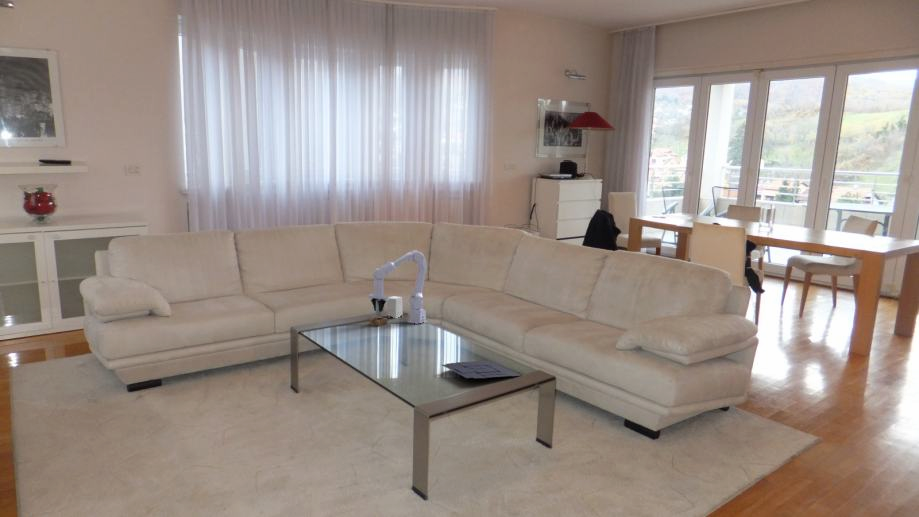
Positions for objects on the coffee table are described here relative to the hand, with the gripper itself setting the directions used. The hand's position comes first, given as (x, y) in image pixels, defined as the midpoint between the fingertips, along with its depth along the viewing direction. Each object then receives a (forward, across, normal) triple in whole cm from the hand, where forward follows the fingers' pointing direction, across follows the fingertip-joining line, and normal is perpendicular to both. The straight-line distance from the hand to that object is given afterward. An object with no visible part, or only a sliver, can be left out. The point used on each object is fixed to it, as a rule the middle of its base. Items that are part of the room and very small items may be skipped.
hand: (378, 311), depth 349 cm
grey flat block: (+9, +96, -36) cm, 103 cm away
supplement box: (+8, -6, +21) cm, 23 cm away
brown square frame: (+8, 0, 0) cm, 8 cm away
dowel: (+2, 0, 0) cm, 2 cm away
